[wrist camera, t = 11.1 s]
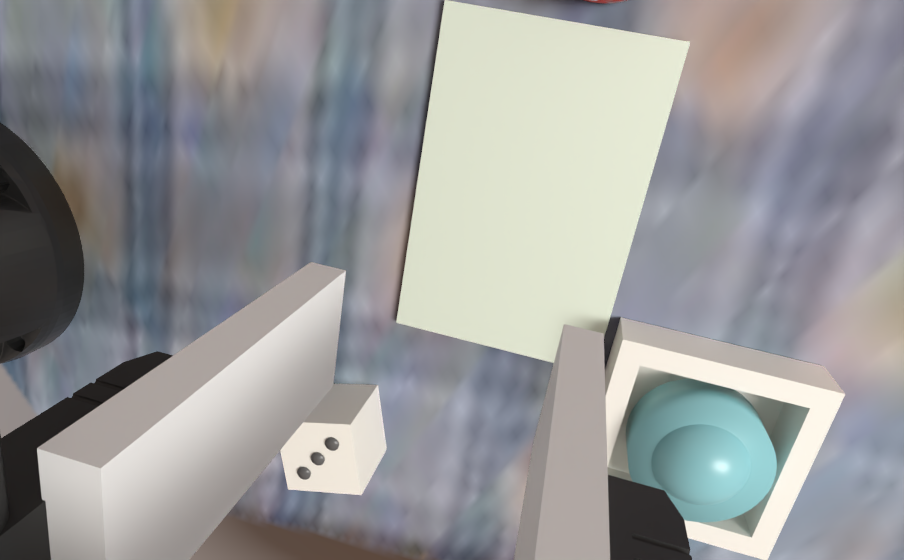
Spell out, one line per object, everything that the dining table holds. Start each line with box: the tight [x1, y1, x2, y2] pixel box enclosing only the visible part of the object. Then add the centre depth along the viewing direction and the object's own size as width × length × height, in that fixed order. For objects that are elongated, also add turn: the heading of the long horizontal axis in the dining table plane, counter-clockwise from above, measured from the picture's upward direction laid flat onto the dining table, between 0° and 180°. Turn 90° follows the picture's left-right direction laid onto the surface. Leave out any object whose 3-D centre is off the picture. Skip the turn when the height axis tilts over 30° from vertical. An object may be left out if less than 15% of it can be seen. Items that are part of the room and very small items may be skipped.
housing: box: [605, 317, 845, 560], centre depth 28 cm, size 9×9×2 cm
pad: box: [396, 0, 690, 363], centre depth 27 cm, size 10×15×1 cm, turn 170°
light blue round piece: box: [626, 379, 777, 522], centre depth 27 cm, size 6×6×4 cm
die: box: [280, 384, 387, 495], centre depth 32 cm, size 4×4×4 cm
